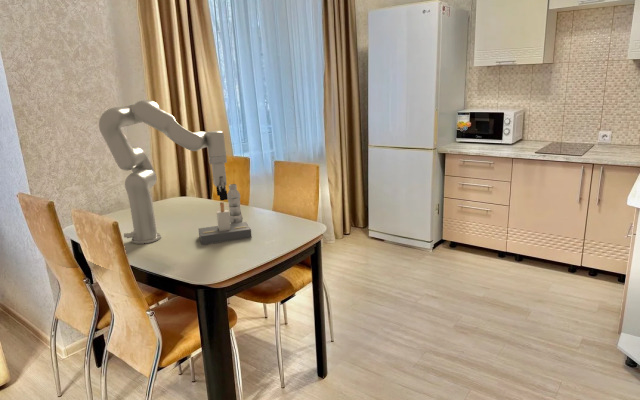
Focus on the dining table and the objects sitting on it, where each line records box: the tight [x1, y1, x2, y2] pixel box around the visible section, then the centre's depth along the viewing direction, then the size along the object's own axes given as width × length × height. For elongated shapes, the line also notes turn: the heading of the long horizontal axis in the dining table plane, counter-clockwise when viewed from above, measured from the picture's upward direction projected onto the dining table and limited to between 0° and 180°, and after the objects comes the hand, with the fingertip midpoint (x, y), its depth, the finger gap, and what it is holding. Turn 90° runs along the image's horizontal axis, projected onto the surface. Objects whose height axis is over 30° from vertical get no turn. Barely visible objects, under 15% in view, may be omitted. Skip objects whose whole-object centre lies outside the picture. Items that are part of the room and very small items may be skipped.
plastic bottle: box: [227, 183, 244, 224], centre depth 218 cm, size 6×7×20 cm
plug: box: [216, 201, 231, 231], centre depth 200 cm, size 5×4×16 cm
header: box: [198, 221, 253, 246], centre depth 201 cm, size 22×12×4 cm, turn 110°
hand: (222, 197), depth 197 cm, fingers open, 9 cm apart
